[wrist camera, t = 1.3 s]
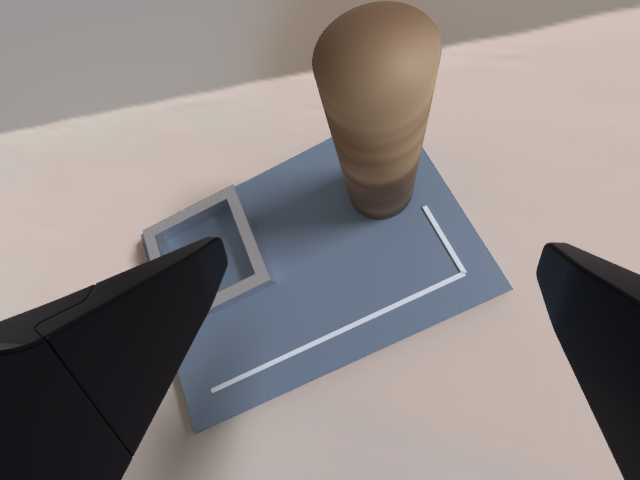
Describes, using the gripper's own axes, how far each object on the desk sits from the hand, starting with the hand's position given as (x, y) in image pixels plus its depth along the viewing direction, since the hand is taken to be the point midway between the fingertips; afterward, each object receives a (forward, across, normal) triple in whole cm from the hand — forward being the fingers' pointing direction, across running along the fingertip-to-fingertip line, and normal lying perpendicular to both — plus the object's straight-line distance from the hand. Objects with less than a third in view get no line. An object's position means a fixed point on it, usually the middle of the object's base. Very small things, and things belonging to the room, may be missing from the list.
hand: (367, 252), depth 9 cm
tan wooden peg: (+14, 0, +4) cm, 14 cm away
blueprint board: (+11, +5, +8) cm, 14 cm away
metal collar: (+10, +12, +7) cm, 17 cm away
